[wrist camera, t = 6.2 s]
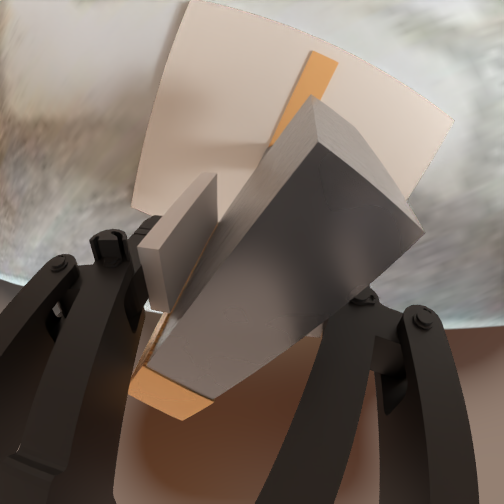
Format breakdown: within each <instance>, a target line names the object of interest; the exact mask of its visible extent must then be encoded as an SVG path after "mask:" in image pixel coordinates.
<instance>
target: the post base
mask: <svg viewBox="0 0 504 504" xmlns="http://www.w3.org/2000/svg"><path fill="white" fill-rule="evenodd" d="M311 94H312V95H313V96H314V97H316V98H317V99H319V100H320V101H321V102H323V103H324V104H326V105H327V106H328V107H330V108H331V109H332V110H334V111H335V112H336V113H338V114H339V115H340V116H342V117H343V118H344V119H345V120H347V121H348V122H349V123H350V124H352V125H353V126H354V127H355V128H356V129H357V130H358V131H359V133H360V134H361V135H362V137H363V138H364V139H365V141H366V142H367V143H368V145H369V146H370V147H371V149H372V150H373V152H374V153H375V154H376V156H377V157H378V159H379V160H380V161H381V163H382V164H383V166H384V167H385V169H386V170H387V171H388V173H389V174H390V176H391V177H392V179H393V180H394V182H395V183H396V185H397V187H398V188H399V190H400V191H401V193H402V194H403V196H404V197H405V199H406V200H407V199H408V197H409V196H410V194H411V193H412V191H413V190H414V188H415V187H416V185H417V184H418V182H419V180H420V179H421V177H422V176H423V174H424V172H425V171H426V169H427V168H428V166H429V164H430V163H431V161H432V159H433V158H434V156H435V154H436V153H437V151H438V149H439V147H440V146H441V144H442V142H443V141H444V139H445V137H446V135H447V134H448V132H449V130H450V128H451V126H452V125H453V123H454V121H455V120H454V119H452V118H451V117H450V116H449V115H447V114H446V113H445V112H443V111H442V110H441V109H439V108H438V107H437V106H435V105H434V104H433V103H431V102H430V101H428V100H427V99H426V98H424V97H423V96H421V95H420V94H418V93H417V92H415V91H414V90H412V89H411V88H409V87H408V86H406V85H405V84H403V83H402V82H400V81H399V80H397V79H395V78H394V77H392V76H390V75H389V74H387V73H385V72H384V71H382V70H380V69H379V68H377V67H375V66H373V65H371V64H370V63H368V62H366V61H364V60H362V59H360V58H359V57H357V56H355V55H353V54H351V53H349V52H347V51H345V50H343V49H341V48H339V47H337V46H335V45H332V44H330V43H328V42H326V41H324V40H322V39H319V38H317V37H315V36H312V35H310V34H308V33H305V32H303V31H300V30H298V29H295V28H293V27H290V26H287V25H285V24H282V23H279V22H276V21H273V20H271V19H268V18H265V17H262V16H258V15H255V14H252V13H249V12H245V11H242V10H238V9H235V8H231V7H227V6H223V5H219V4H215V3H211V2H206V1H201V0H190V2H189V4H188V6H187V9H186V11H185V14H184V16H183V19H182V21H181V24H180V26H179V29H178V32H177V34H176V37H175V40H174V42H173V45H172V48H171V51H170V54H169V56H168V59H167V62H166V65H165V68H164V71H163V75H162V78H161V81H160V84H159V88H158V91H157V94H156V98H155V101H154V105H153V108H152V112H151V116H150V119H149V123H148V127H147V131H146V135H145V139H144V144H143V148H142V152H141V157H140V161H139V166H138V171H137V176H136V181H135V186H134V191H133V197H132V203H131V207H132V208H135V209H137V210H139V211H142V212H144V213H146V214H149V215H151V216H154V215H159V216H163V215H164V214H165V213H166V212H167V210H168V209H169V208H170V207H171V206H172V205H173V204H174V202H175V201H176V200H177V199H178V198H179V197H180V196H181V195H182V193H183V192H184V191H185V190H186V189H187V188H188V187H189V186H190V185H191V183H192V182H193V181H194V180H195V179H196V178H197V177H198V176H199V175H200V174H201V173H202V172H208V173H217V206H218V222H219V221H220V219H221V218H222V216H223V215H224V214H225V212H226V211H227V209H228V208H229V206H230V205H231V203H232V202H233V200H234V199H235V198H236V196H237V195H238V193H239V192H240V190H241V189H242V187H243V186H244V185H245V183H246V182H247V180H248V179H249V178H250V176H251V175H252V173H253V172H254V170H255V169H256V168H257V166H258V165H259V163H260V162H261V161H262V159H263V158H264V156H265V155H266V154H267V152H268V151H269V150H270V148H271V147H272V145H273V144H274V143H275V141H276V140H277V139H278V137H279V136H280V135H281V133H282V132H283V130H284V129H285V128H286V126H287V125H288V124H289V122H290V121H291V120H292V118H293V117H294V116H295V114H296V113H297V112H298V110H299V109H300V108H301V106H302V105H303V104H304V102H305V101H306V100H307V99H308V97H309V96H310V95H311Z"/></svg>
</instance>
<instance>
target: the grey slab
mask: <svg viewBox="0 0 504 504" xmlns="http://www.w3.org/2000/svg"><path fill="white" fill-rule="evenodd" d="M424 234H425V231H424V229H423V228H422V226H421V224H420V222H419V221H418V219H417V217H416V216H415V214H414V212H413V211H412V209H411V207H410V206H409V204H408V202H407V201H406V199H405V197H404V196H403V194H402V193H401V191H400V190H399V188H398V187H397V185H396V183H395V182H394V180H393V179H392V177H391V176H390V174H389V173H388V171H387V170H386V169H385V167H384V166H383V164H382V163H381V161H380V160H379V159H378V157H377V156H376V154H375V153H374V152H373V150H372V149H371V147H370V146H369V145H368V143H367V142H366V141H365V139H364V138H363V137H362V135H361V134H360V133H359V131H358V130H357V129H356V128H355V127H354V126H353V125H352V124H350V123H349V122H348V121H347V120H345V119H344V118H343V117H342V116H340V115H339V114H338V113H336V112H335V111H334V110H332V109H331V108H330V107H328V106H327V105H326V104H324V103H323V102H321V101H320V100H319V99H317V98H316V97H314V96H313V95H312V94H311V95H310V96H309V97H308V99H307V100H306V101H305V102H304V104H303V105H302V106H301V108H300V109H299V110H298V112H297V113H296V114H295V116H294V117H293V118H292V120H291V121H290V122H289V124H288V125H287V126H286V128H285V129H284V130H283V132H282V133H281V135H280V136H279V137H278V139H277V140H276V141H275V143H274V144H273V145H272V147H271V148H270V150H269V151H268V152H267V154H266V155H265V156H264V158H263V159H262V161H261V162H260V163H259V165H258V166H257V168H256V169H255V170H254V172H253V173H252V175H251V176H250V178H249V179H248V180H247V182H246V183H245V185H244V186H243V187H242V189H241V190H240V192H239V193H238V195H237V196H236V198H235V199H234V200H233V202H232V203H231V205H230V206H229V208H228V209H227V211H226V212H225V214H224V215H223V216H222V218H221V219H220V221H219V222H218V223H217V225H216V227H215V229H214V231H213V232H212V234H211V236H210V238H209V240H208V242H207V244H206V245H205V247H204V249H203V251H202V253H201V255H200V257H199V259H198V260H197V262H196V264H195V266H194V268H193V270H192V272H191V274H190V276H189V278H188V280H187V282H186V283H185V285H184V287H183V289H182V291H181V293H180V295H179V297H178V299H177V301H176V303H175V305H174V307H173V309H172V311H171V313H166V312H163V314H162V316H161V318H160V320H159V322H158V324H157V326H156V328H155V330H154V332H153V334H152V336H151V338H150V340H149V342H148V344H147V346H146V348H145V350H144V352H143V354H142V356H141V358H140V360H139V362H138V364H137V366H136V368H135V370H134V372H133V374H132V376H131V380H130V385H129V390H128V394H129V395H131V396H133V397H135V398H137V399H139V400H141V401H142V402H144V403H146V404H148V405H150V406H152V407H154V408H156V409H158V410H160V411H162V412H164V413H166V414H168V415H171V416H173V417H175V418H177V419H179V420H182V421H183V420H184V419H186V418H188V417H190V416H192V415H193V414H195V413H197V412H199V411H200V410H202V409H204V408H205V407H207V406H209V405H210V404H212V403H214V401H215V398H216V397H217V396H219V395H221V394H222V393H224V392H225V391H227V390H228V389H230V388H231V387H233V386H234V385H236V384H238V383H239V382H240V381H242V380H244V379H245V378H247V377H248V376H249V375H251V374H253V373H254V372H256V371H257V370H258V369H260V368H261V367H263V366H264V365H266V364H267V363H269V362H270V361H271V360H273V359H274V358H276V357H277V356H279V355H280V354H281V353H283V352H284V351H285V350H287V349H288V348H290V347H291V346H292V345H294V344H295V343H296V342H298V341H299V340H300V339H302V338H303V337H304V336H306V335H307V334H308V333H310V332H311V331H312V330H314V329H315V328H316V327H318V326H319V325H320V324H321V323H323V322H324V321H325V320H327V319H328V318H329V317H330V316H332V315H333V314H334V313H335V312H337V311H338V310H339V309H340V308H342V307H343V306H344V305H345V304H347V303H348V302H349V301H350V300H351V299H353V298H354V297H355V296H356V295H357V294H359V293H360V292H361V291H362V290H363V289H364V288H366V287H367V286H368V285H369V284H370V283H371V282H373V281H374V280H375V279H376V278H377V277H378V276H380V275H381V274H382V273H383V272H384V271H385V270H386V269H387V268H389V267H390V266H391V265H392V264H393V263H394V262H395V261H396V260H397V259H398V258H400V257H401V256H402V255H403V254H404V253H405V252H406V251H407V250H408V249H409V248H410V247H411V246H412V245H413V244H415V243H416V242H417V241H418V240H419V239H420V238H421V237H422V236H423V235H424Z"/></svg>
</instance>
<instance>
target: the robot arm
mask: <svg viewBox="0 0 504 504" xmlns="http://www.w3.org/2000/svg"><path fill="white" fill-rule="evenodd" d="M217 223H218V206H217V173H208V172H202V173H201V174H200V175H199V176H198V177H197V178H196V179H195V180H194V181H193V182H192V183H191V185H190V186H189V187H188V188H187V189H186V190H185V191H184V192H183V193H182V195H181V196H180V197H179V198H178V199H177V200H176V201H175V202H174V204H173V205H172V206H171V207H170V208H169V209H168V210H167V212H166V213H165V214H164V215H163V216H159V215H154V216H152V217H150V218H149V219H147V220H145V221H144V222H143V223H142V224H141V226H140V227H139V229H137V230H136V231H135V232H134V234H133V235H132V236H131V237H130V238H129V239H128V240H127V235H126V234H125V232H124V231H121V230H118V229H110V230H105V231H102V232H99V233H97V234H96V235H94V236H93V237H92V238H91V239H90V240H89V241H90V244H91V248H92V252H93V255H94V258H95V262H94V264H93V265H80V266H78V265H77V262H76V259H75V258H74V256H72V255H70V254H62V255H58V256H56V257H54V258H52V259H51V260H49V261H48V262H47V263H46V264H45V265H44V266H43V267H42V268H41V269H40V270H39V271H38V272H37V273H36V274H35V275H34V276H33V278H32V279H31V280H30V281H29V282H28V283H27V284H26V285H25V286H24V287H23V288H22V289H21V291H20V292H19V293H18V294H17V295H16V296H15V297H14V298H13V300H12V301H11V302H10V303H9V304H8V305H7V307H6V308H5V309H4V310H3V311H2V313H1V314H0V504H116V501H115V499H114V496H113V485H114V476H115V468H116V460H117V453H118V447H119V440H120V434H121V427H122V422H123V416H124V411H125V405H126V400H127V395H128V390H129V385H130V380H131V375H132V371H133V366H134V362H135V357H136V353H137V348H138V344H139V340H140V336H141V331H142V328H143V324H144V320H145V310H144V305H145V303H146V301H147V300H148V298H149V302H150V306H151V309H152V310H156V311H161V312H166V313H171V311H172V309H173V307H174V305H175V303H176V301H177V299H178V297H179V295H180V293H181V291H182V289H183V287H184V285H185V283H186V282H187V280H188V278H189V276H190V274H191V272H192V270H193V268H194V266H195V264H196V262H197V260H198V259H199V257H200V255H201V253H202V251H203V249H204V247H205V245H206V244H207V242H208V240H209V238H210V236H211V234H212V232H213V231H214V229H215V227H216V225H217ZM56 303H57V304H58V307H59V309H60V311H61V312H60V313H59V314H58V315H57V316H56V315H55V314H54V312H53V310H52V308H53V307H54V306H55V305H56ZM322 329H323V337H322V341H321V344H320V347H319V350H318V353H317V356H316V359H315V362H314V365H313V367H312V370H311V373H310V376H309V379H308V381H307V384H306V387H305V389H304V392H303V395H302V397H301V401H300V403H299V405H298V408H297V410H296V413H295V415H294V418H293V420H292V423H291V426H290V428H289V430H288V433H287V435H286V437H285V440H284V442H283V444H282V447H281V449H280V451H279V454H278V456H277V458H276V460H275V463H274V465H273V467H272V469H271V471H270V473H269V476H268V478H267V480H266V482H265V484H264V486H263V488H262V490H261V492H260V495H259V496H258V498H257V500H256V502H255V504H334V501H335V498H336V495H337V492H338V489H339V487H340V484H341V480H342V478H343V474H344V471H345V468H346V465H347V462H348V458H349V455H350V451H351V448H352V444H353V441H354V437H355V433H356V429H357V425H358V421H359V417H360V413H361V409H362V404H363V400H364V395H365V390H366V386H367V381H368V375H369V370H372V371H374V375H375V385H376V397H377V410H378V426H379V452H380V496H379V498H380V499H379V504H479V492H478V481H477V471H476V462H475V455H474V449H473V441H472V436H471V430H470V425H469V419H468V415H467V410H466V405H465V401H464V397H463V393H462V388H461V385H460V381H459V377H458V373H457V370H456V366H455V363H454V359H453V356H452V353H451V349H450V346H449V343H448V340H447V337H446V334H445V331H444V328H443V325H442V322H441V320H440V318H439V317H438V315H437V314H436V313H435V312H434V311H433V310H431V309H429V308H427V307H426V306H421V305H411V306H409V307H407V308H406V309H405V311H404V313H401V312H398V311H395V310H393V309H390V308H388V307H386V306H384V305H382V304H381V303H379V298H378V296H377V294H376V293H375V291H373V290H372V289H371V288H370V286H369V285H368V286H367V287H366V288H364V289H363V290H362V291H361V292H360V293H359V294H357V295H356V296H355V297H354V298H353V299H351V300H350V301H349V302H348V303H347V304H345V305H344V306H343V307H342V308H340V309H339V310H338V311H337V312H335V313H334V314H333V315H332V316H330V317H329V318H328V319H327V320H325V321H324V322H323V323H321V324H320V325H319V326H318V327H316V328H315V329H314V330H312V331H311V332H310V333H308V334H307V335H306V336H312V337H320V336H321V332H322ZM20 444H21V445H20ZM19 446H20V448H19ZM18 448H19V450H18ZM17 450H18V451H17Z"/></svg>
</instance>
